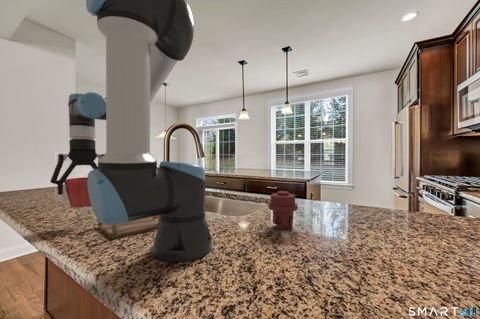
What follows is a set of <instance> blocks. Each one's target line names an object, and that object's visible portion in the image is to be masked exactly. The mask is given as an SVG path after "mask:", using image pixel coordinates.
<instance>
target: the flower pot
mask: <svg viewBox="0 0 480 319" xmlns="http://www.w3.org/2000/svg"><path fill="white" fill-rule="evenodd" d="M87 181H88V176H87V177H76V178H75V177H74V178H67V179H66V180H65V181H64V183H63V184H65V185H66V197H67V199H68V202H69V206H70V208H72V209H77V208H79V209H81V208H89V207H92V206H91V203H90V199H89V194H88V186H87Z"/></svg>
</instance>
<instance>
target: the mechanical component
mask: <svg viewBox="0 0 480 319" xmlns="http://www.w3.org/2000/svg"><path fill="white" fill-rule="evenodd" d="M298 206H299V205H298V204H297V203H296V195H295V194H293V193H289V191H286V190H285V191H284V190H280V191H277V192H275V193H272V194H270V202H269V203H268V209H269V210H271V211H272V223H273V224H274V225H276V229H277V230H279V231H280V230H284V229H292V228H293V227H294V226H293V225H294V212H296V211H298V208H299V207H298Z"/></svg>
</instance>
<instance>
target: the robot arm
mask: <svg viewBox="0 0 480 319" xmlns="http://www.w3.org/2000/svg"><path fill="white" fill-rule="evenodd" d="M85 2H86V3H85V6H86V11H87V12H88V13H89V14H91V15H92V16H94V17H95V16H96V19H97V21H96V22H97V23H96V26H97V29H98V31H99V32H100V33H101V34H102V35H103V36H104V38H105V81H106V82H105V85H106V86H105V97H103V95H101V94H99V93H97V92H93V91H92V92H91V91H90V92H85V93H78V92H77V93H71V94H70V95H69V96H68V103H67V106H68V119H69V120H68V122H69V124H68V129H69V131H68V132H69V133H68V135H69V138H70V139H69V152H68V153H65V154H64V153H59V154H57V164H56V165H55V167H54V168H55V169H54V171H53V174H52V176H51V179H50V183H51V184H54V185H56V186H57V194H58V195H61V204H62V205H67V192H66V185H65V183H64V181H65V180H66V179H68V178H69V176H70V175H71V173H72V172H73V171H74V169H75V168H76V166H90V167H91V168H92V170H90V171H89V172H88V173H87V177H88V181H87V186H88V194H89V199H90V203H91V206H90V207H91V208H92V211H93V214H94V216H95V217H96V219H97V221H98V222H99V221H100V222H101V223H102V224H104V225H114V224H121V223H124V224H126V223H128V222H131V221H136V220H141V219H145V218H154V217H155V218H156V217H158V216H160V225H159V228H158V229H157V231H156V234H155V238H154V241H153V247H152V251H153V252H152V254H153V256H154V257H155V258H156V259H158V260H160V261H163V262H164V261H165V262H169V263H171V262H174V263H177V262H180V263H181V262H188V261H193V260H197V259H199V258H200V259H201V258H202V257H204V256H206V255H207V254H209V253H210V252H211V251H212V249H213V240H212V239H213V238H212V235H211V232H210V230H209V226H208V223H207V220H206V182H207V180H206V174H205V173H206V171H205V168H204V167H203V166H202V165H200V164H194V163H188V162H187V163H186V162H176V161H163V160H162V161H160V162H159V164H158V160H157V158H156V157H155V156H153V155H152V153H151V102H152V101H153V99H154V98H155V96H156V95H157V93H158V91H159V90H160V89H161V87H162V85H163V84H164V83H165V81H166V80H167V78H168V76H169V75H170V73H171V71H173V68H175V66H176V65H177V63H178V62H181V61H183V60H184V59H185V58H186V56H187V55H188V53H189V51H190V49H191V47H192V44H193V41H194V33H195V25H194V17H193V14H192V11H191V7H190V5H189V3H188V2H187V1H186V0H86V1H85ZM96 120H99V121H100V120H101V121H105V122H106V126H105V127H106V128H105V130H106V131H105V132H106V133H105V134H106V135H105V136H106V137H105V139H106V142H105V143H106V145H105V146H106V147H105V148H106V149H105V150H106V151H105V153H103V154H99V153H97V152H96V141H95V139H96V124H95V123H96ZM67 159H69V160H70V161H71V162H70V164H69V166H68V168H66V170H65V171H64V172H63V174H62V175H61V177H60V178H59V175H60V173H61V169H62V167H63V165H64V161H66V160H67ZM96 159H97V163H96V161H95V160H96ZM58 178H59V179H58Z"/></svg>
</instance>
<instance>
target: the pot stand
mask: <svg viewBox="0 0 480 319" xmlns="http://www.w3.org/2000/svg"><path fill="white" fill-rule="evenodd" d="M157 217H158V220H156V219H154V218H153V217H150V218H145V219H141V220H136V221H131V222H128V223H126V224H124V223H121V224H114V225H104V224H102V223H101V222H100V221H99V220H98V224H97V228H98V229H99V230H101V231H102V232H103V233H104V234H105V235H107V236H108V237H109V238H111V239H112V240H118V239H121V238H125V237H130V236H133V235H137V234H142V233H145V232H149V231H153V230H158V228H159V225H160V216H157Z"/></svg>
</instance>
